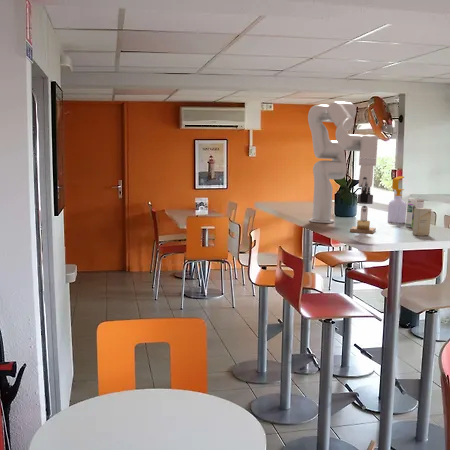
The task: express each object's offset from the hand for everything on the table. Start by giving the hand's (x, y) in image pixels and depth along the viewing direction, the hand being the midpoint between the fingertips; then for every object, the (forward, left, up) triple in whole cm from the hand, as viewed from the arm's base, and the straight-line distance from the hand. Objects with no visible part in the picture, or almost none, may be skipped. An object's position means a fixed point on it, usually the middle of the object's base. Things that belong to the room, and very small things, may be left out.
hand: (365, 201), depth 255 cm
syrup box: (-33, +20, -14) cm, 41 cm away
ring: (0, 0, -1) cm, 1 cm away
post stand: (0, 0, -14) cm, 14 cm away
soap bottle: (-50, +10, -14) cm, 53 cm away
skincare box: (-5, +25, -14) cm, 29 cm away
